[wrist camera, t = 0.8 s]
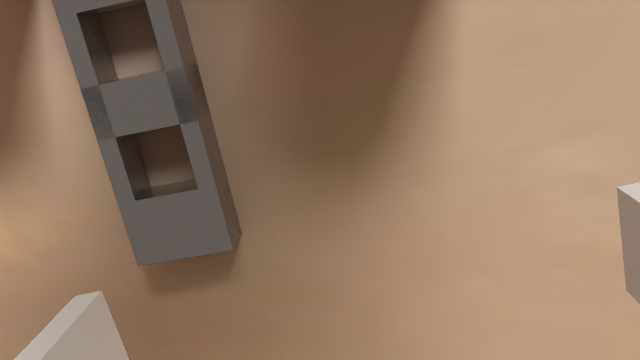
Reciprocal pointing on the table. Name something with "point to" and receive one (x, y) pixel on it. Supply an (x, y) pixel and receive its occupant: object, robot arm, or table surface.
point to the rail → (149, 114)
